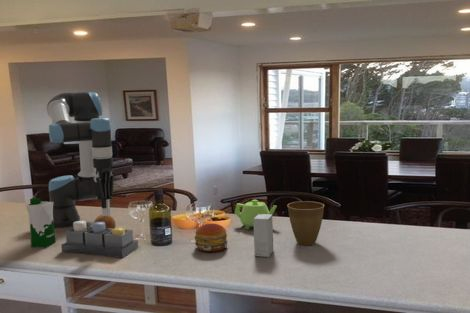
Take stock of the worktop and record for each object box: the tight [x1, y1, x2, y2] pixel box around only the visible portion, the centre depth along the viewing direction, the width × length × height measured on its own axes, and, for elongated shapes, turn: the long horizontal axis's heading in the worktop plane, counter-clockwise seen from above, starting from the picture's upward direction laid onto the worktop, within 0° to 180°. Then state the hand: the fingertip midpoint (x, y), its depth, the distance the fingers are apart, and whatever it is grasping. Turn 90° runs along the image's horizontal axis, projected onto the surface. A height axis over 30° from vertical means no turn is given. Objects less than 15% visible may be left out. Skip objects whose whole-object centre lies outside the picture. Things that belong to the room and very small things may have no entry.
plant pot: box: [287, 200, 325, 246], centre depth 181 cm, size 15×15×16 cm
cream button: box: [72, 220, 87, 232], centre depth 181 cm, size 5×5×5 cm
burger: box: [193, 223, 228, 253], centre depth 178 cm, size 14×14×10 cm
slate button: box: [91, 222, 105, 233], centre depth 179 cm, size 5×5×5 cm
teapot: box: [234, 199, 278, 230], centre depth 206 cm, size 20×13×13 cm
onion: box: [93, 213, 117, 229], centre depth 198 cm, size 10×10×10 cm
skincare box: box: [253, 214, 274, 258], centre depth 170 cm, size 8×6×15 cm
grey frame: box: [61, 226, 139, 258], centre depth 179 cm, size 12×28×8 cm, turn 73°
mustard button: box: [112, 227, 126, 235], centre depth 176 cm, size 5×5×5 cm
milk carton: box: [25, 197, 57, 248], centre depth 187 cm, size 9×9×20 cm
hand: (106, 215), depth 177 cm, fingers closed
